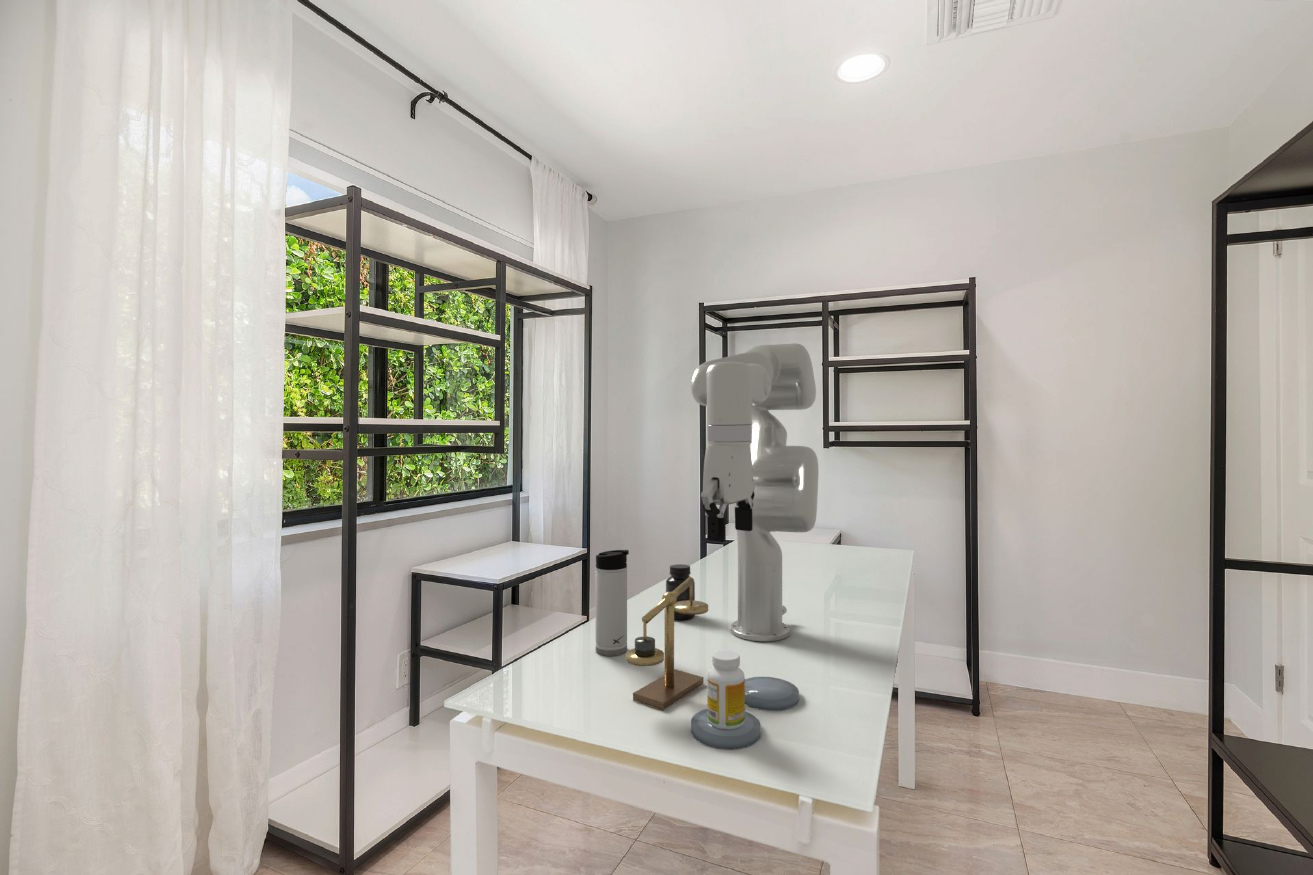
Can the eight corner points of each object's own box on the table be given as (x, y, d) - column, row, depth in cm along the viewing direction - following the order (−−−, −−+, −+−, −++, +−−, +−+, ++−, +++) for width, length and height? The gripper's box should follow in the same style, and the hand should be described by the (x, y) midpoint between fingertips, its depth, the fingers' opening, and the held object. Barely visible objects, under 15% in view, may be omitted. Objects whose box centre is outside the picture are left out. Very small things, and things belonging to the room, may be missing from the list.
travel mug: (624, 657, 114) (624, 553, 114) (591, 655, 115) (591, 552, 115) (632, 646, 120) (632, 547, 120) (600, 643, 122) (600, 546, 122)
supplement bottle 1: (700, 615, 141) (700, 565, 141) (685, 623, 135) (685, 570, 135) (675, 611, 144) (675, 561, 144) (660, 618, 139) (660, 567, 138)
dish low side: (713, 708, 93) (713, 700, 93) (772, 727, 87) (772, 718, 87) (677, 734, 85) (677, 726, 85) (740, 757, 79) (740, 747, 79)
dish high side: (753, 678, 104) (753, 671, 104) (808, 693, 98) (808, 685, 98) (725, 699, 96) (725, 691, 96) (783, 716, 90) (783, 708, 90)
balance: (686, 668, 109) (686, 571, 108) (714, 676, 105) (714, 575, 105) (618, 708, 93) (617, 594, 93) (648, 719, 89) (648, 600, 89)
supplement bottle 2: (747, 715, 88) (747, 650, 88) (741, 733, 83) (741, 663, 83) (712, 710, 89) (712, 646, 89) (703, 727, 84) (703, 658, 84)
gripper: (733, 433, 110) (734, 524, 111) (683, 437, 96) (684, 542, 97) (771, 433, 106) (772, 528, 106) (724, 438, 91) (725, 548, 92)
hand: (730, 535), depth 102 cm, fingers open, 9 cm apart
